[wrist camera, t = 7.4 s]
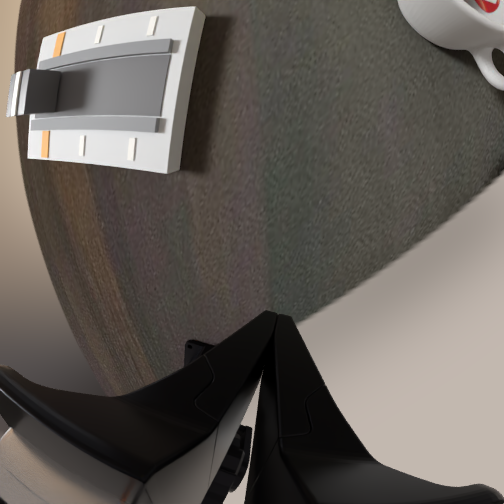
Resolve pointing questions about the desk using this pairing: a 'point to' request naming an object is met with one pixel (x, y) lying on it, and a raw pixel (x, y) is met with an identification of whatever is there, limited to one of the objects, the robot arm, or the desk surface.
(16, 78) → the fader knob
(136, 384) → the desk surface
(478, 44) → the cup
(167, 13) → the console board
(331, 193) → the desk surface
